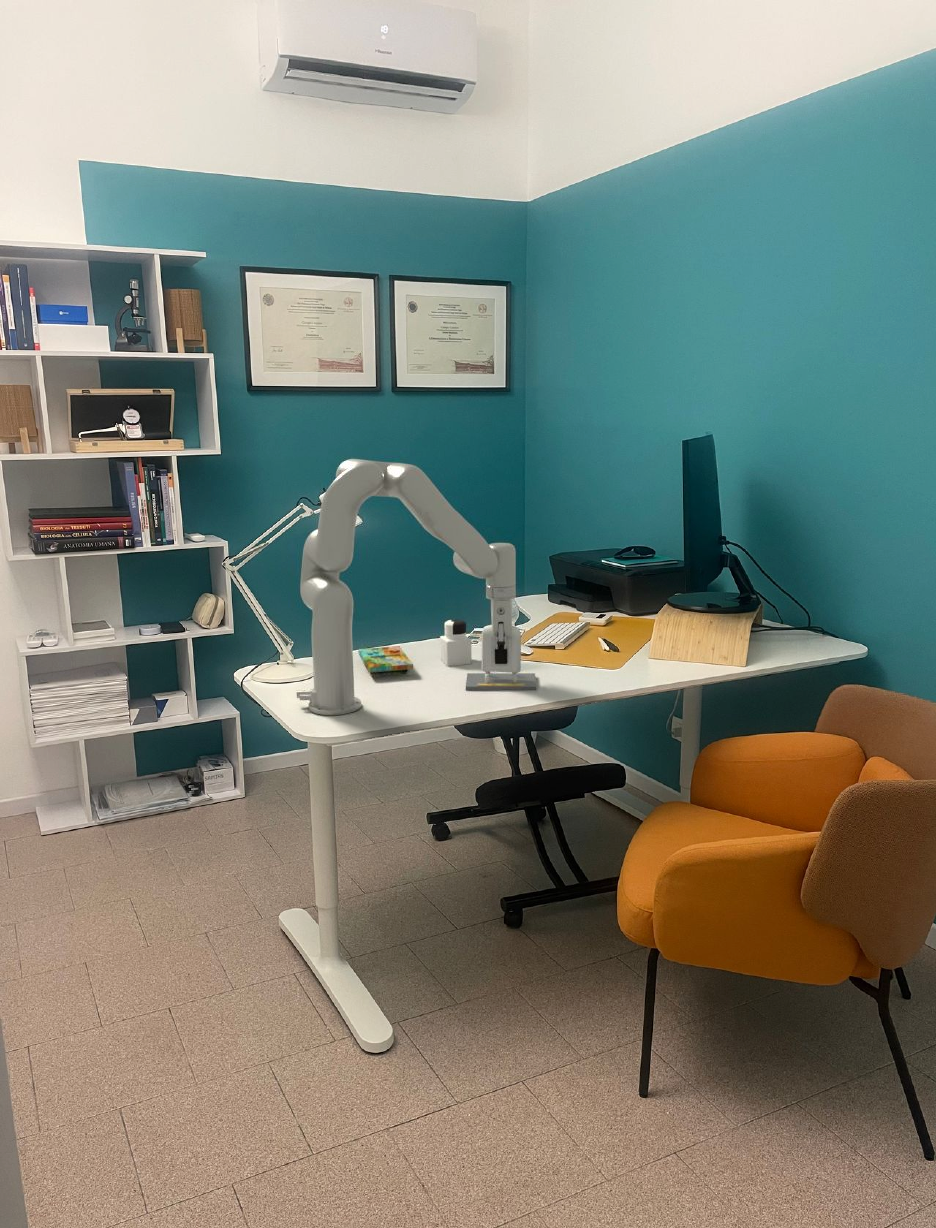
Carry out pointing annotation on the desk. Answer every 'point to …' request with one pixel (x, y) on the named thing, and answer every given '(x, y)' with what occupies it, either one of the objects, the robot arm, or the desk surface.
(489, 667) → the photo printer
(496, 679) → the pin tray
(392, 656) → the puzzle game
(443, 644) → the medicine bottle
